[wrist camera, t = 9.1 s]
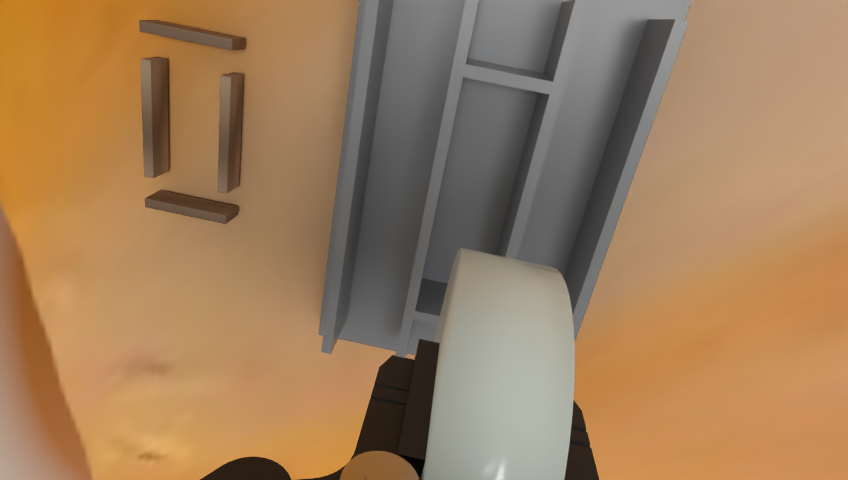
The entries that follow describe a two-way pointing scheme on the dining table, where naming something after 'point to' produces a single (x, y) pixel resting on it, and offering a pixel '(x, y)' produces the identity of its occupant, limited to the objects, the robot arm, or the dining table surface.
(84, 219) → the dining table surface
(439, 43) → the rack
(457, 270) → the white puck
